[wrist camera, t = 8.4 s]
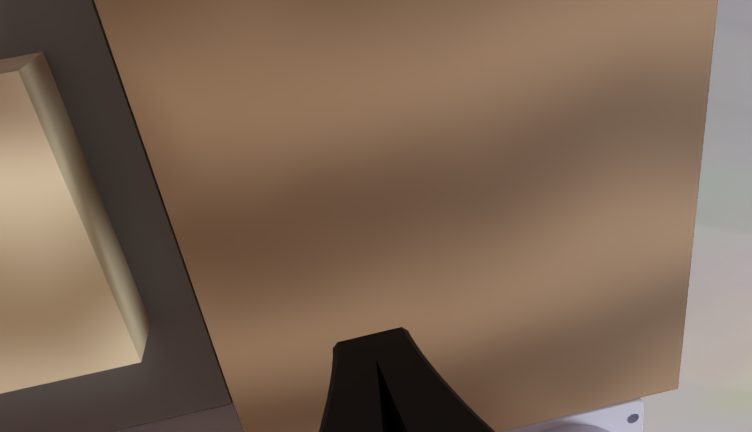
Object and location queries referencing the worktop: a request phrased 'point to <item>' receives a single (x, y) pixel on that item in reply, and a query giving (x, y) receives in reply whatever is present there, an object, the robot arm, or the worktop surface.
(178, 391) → the mat
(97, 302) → the tile
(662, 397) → the worktop surface
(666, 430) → the worktop surface
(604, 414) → the robot arm
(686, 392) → the worktop surface
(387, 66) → the butcher block
